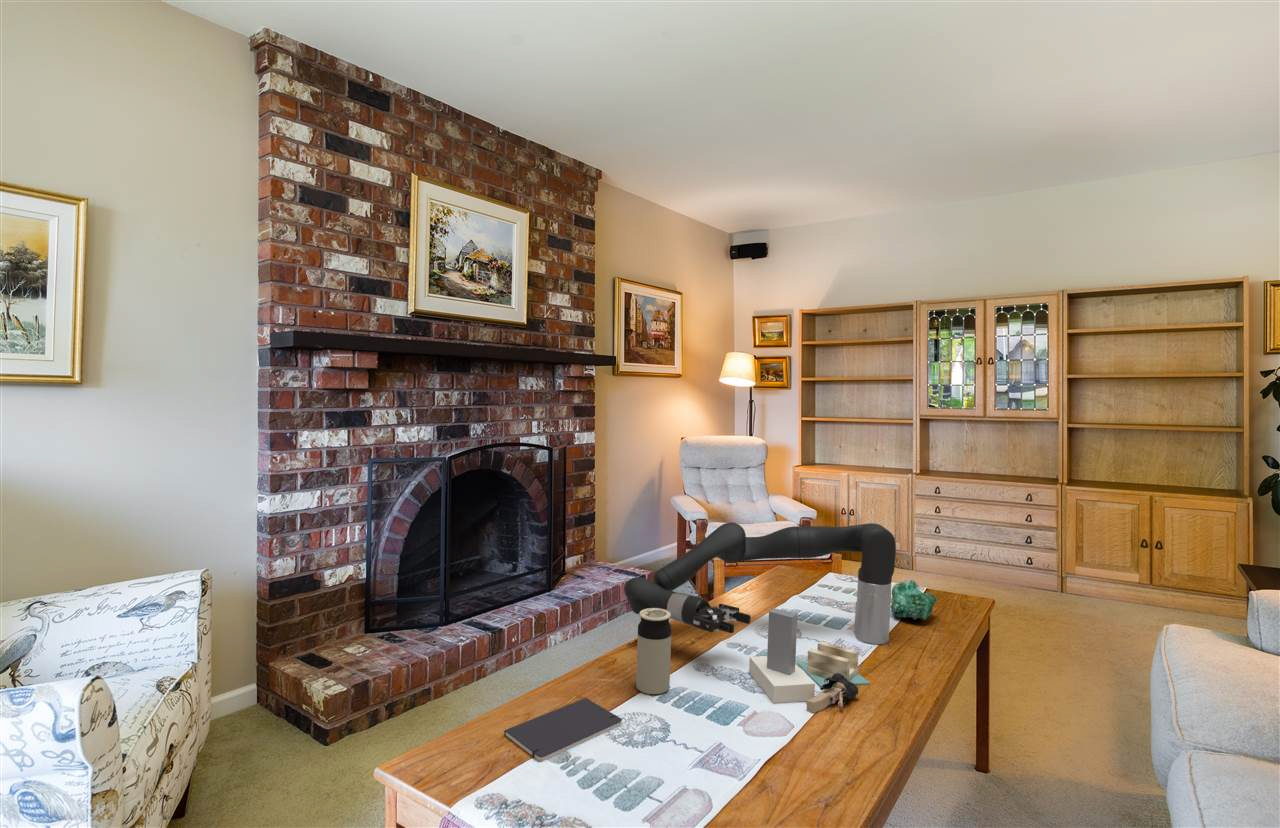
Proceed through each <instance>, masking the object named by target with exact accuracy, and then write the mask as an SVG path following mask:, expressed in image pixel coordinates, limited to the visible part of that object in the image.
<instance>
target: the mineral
mask: <svg viewBox="0 0 1280 828" xmlns="http://www.w3.org/2000/svg"><path fill="white" fill-rule="evenodd" d="M937 601H938V600H937V597H936V596H935V595H934V594H931V593H930V592H926V593H925V592H924V593H923V592H922V591H921V590H920V589H919V584H918V583H917V582H916V581H915V580H914V579H910V580H904V581H901V582H899V583H896V584H894V586H893V587H891V604H890V612H891V613H892V614H894V615H895V616H897V617H899V618H912V619H913V620H915V621H916V620H917V619H920V620H919V621H920V622H923V621H927V618H929V617H930V616H931V615H932V613H933V607H934V606H935V604H936V603H937Z"/></svg>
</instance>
